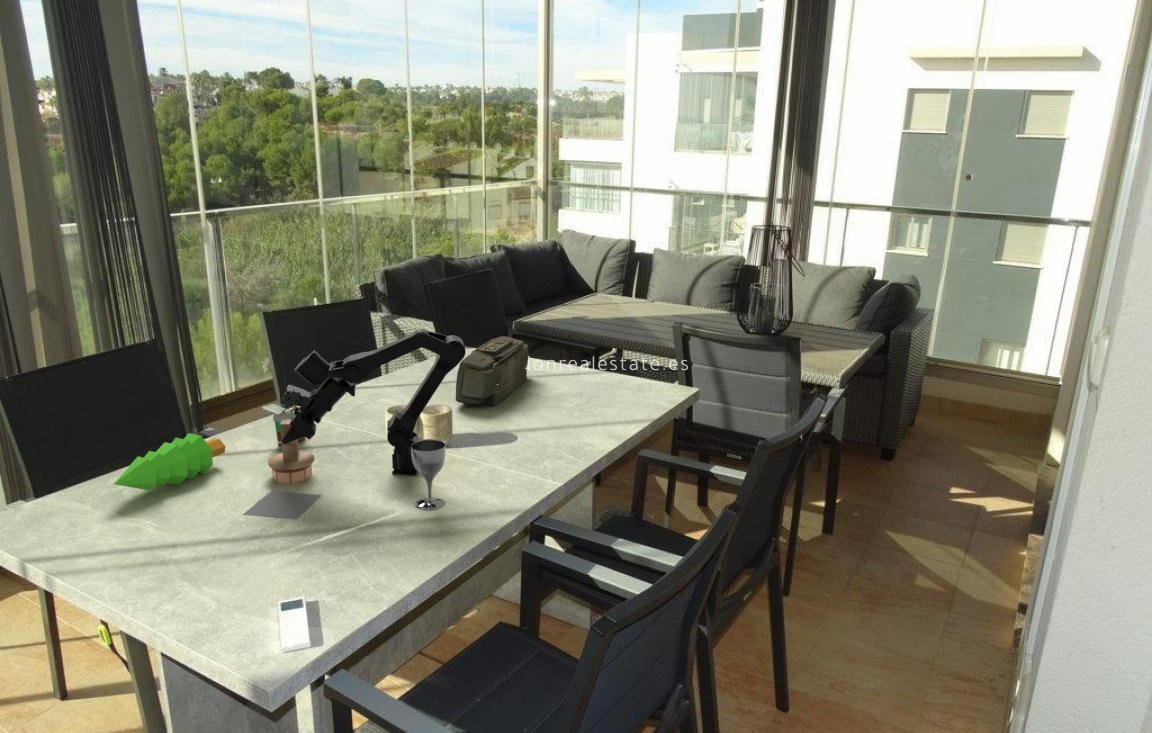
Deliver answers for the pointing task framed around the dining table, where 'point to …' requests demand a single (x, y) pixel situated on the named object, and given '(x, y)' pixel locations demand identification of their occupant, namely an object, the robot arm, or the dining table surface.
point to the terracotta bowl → (292, 475)
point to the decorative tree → (172, 462)
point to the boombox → (492, 371)
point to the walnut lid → (290, 453)
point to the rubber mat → (283, 505)
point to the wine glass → (428, 468)
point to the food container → (284, 415)
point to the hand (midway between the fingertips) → (284, 440)
